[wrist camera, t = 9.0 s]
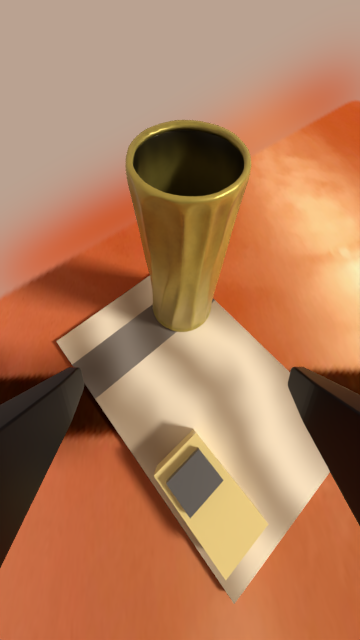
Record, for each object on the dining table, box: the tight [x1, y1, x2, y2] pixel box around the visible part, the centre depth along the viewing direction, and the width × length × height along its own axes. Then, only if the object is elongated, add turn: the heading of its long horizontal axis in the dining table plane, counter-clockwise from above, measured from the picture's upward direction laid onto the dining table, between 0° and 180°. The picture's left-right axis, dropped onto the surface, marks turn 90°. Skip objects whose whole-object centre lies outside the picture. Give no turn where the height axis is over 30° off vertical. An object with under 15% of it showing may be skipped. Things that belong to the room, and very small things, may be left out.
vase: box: [126, 120, 251, 332], centre depth 15 cm, size 6×6×14 cm
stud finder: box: [154, 429, 268, 580], centre depth 15 cm, size 7×4×3 cm, turn 41°
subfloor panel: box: [56, 276, 330, 604], centre depth 19 cm, size 15×24×1 cm, turn 41°
